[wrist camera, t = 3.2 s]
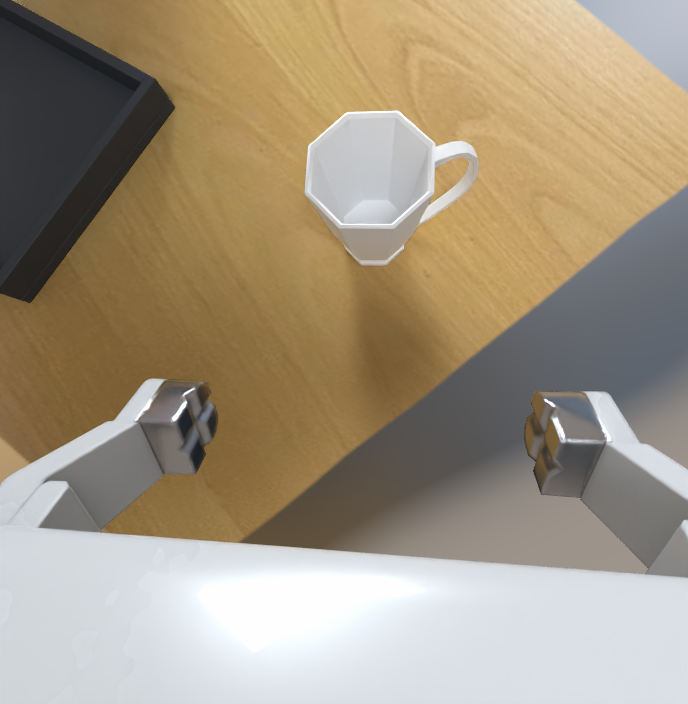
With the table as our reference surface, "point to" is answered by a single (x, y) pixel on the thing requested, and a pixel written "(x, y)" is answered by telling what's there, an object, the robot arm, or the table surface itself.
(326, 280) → the table surface
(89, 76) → the tray
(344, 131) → the cup
